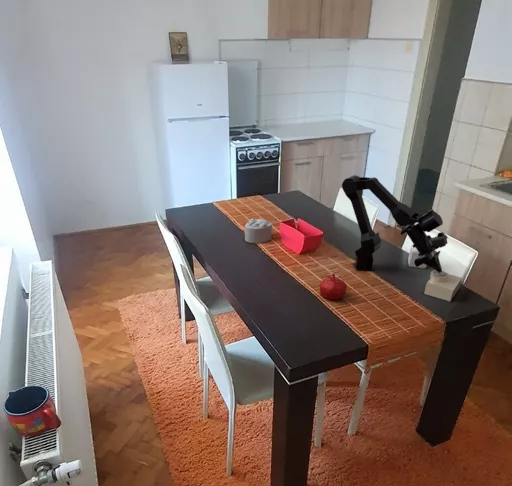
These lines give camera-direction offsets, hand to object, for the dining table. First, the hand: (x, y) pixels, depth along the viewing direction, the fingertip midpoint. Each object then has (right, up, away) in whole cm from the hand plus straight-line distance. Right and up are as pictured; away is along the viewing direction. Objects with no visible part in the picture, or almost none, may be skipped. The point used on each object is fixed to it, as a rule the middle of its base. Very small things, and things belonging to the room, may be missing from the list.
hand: (440, 271), depth 182 cm
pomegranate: (-43, -10, -4) cm, 44 cm away
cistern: (+2, -8, +3) cm, 8 cm away
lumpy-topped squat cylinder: (-71, +20, +41) cm, 85 cm away
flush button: (0, -2, +1) cm, 2 cm away
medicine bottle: (-1, +5, +24) cm, 24 cm away
